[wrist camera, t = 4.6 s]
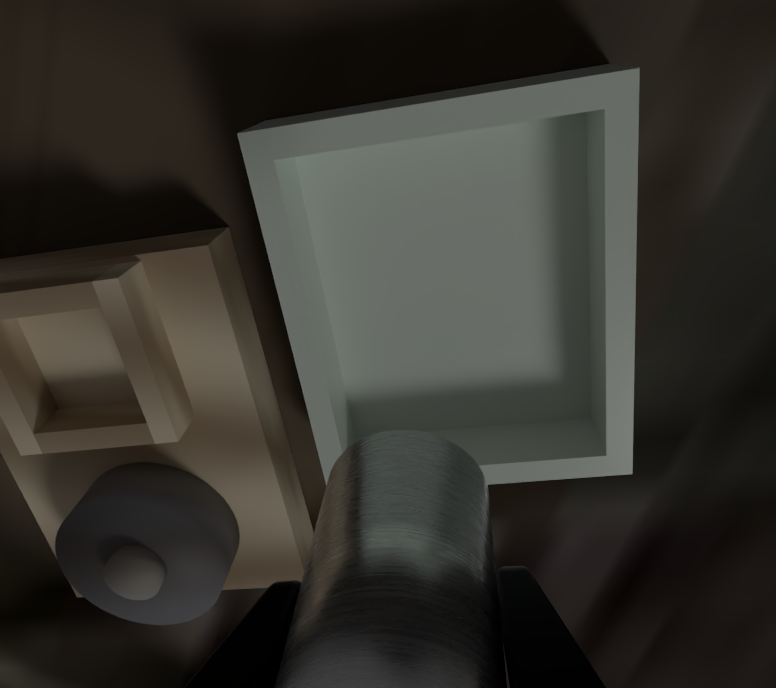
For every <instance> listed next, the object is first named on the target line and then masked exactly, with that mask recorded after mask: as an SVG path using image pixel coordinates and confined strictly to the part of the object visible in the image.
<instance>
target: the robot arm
mask: <svg viewBox="0 0 776 688" xmlns="http://www.w3.org/2000/svg"><path fill="white" fill-rule="evenodd" d="M497 577H498V589H499V600H500V612H501V623H502V635H503V642H504V650H505V657H506V664H507V671H508V678H509V685H510V688H606V687H605V686H604V684H603V683H602V681H601V680H600V678H599V676H598V675H597V673H596V672H595V670H594V669H593V667H592V666H591V664H590V663H589V661H588V660H587V658H586V657H585V655H584V653H583V652H582V650H581V649H580V647H579V646H578V644H577V643H576V641H575V640H574V638H573V637H572V635H571V633H570V632H569V630H568V629H567V627H566V626H565V624H564V623H563V621H562V620H561V618H560V617H559V615H558V613H557V612H556V610H555V609H554V607H553V606H552V604H551V603H550V601H549V600H548V598H547V597H546V595H545V594H544V592H543V590H542V589H541V587H540V586H539V584H538V583H537V581H536V580H535V578H534V577H533V575H532V574H531V572H530V571H529V569H528V568H527V567H525V566H509V567H500V568H499V569H498V571H497ZM300 586H301V582H300V581H297V580H292V581H278V582H275V583H273V584H272V585H270V586H269V588H268V589H267V590H266V591H265V592H264V593H263V595H262V596H261V597H260V598H259V599H258V600H257V602H256V603H255V604H254V605H253V606H252V608H251V609H250V610H249V611H248V612H247V613H246V615H245V616H244V617H243V618H242V619H241V621H240V622H239V623H238V624H237V625H236V626H235V628H234V629H233V630H232V631H231V632H230V633H229V635H228V636H227V637H226V638H225V639H224V641H223V642H222V643H221V644H220V645H219V646H218V648H217V649H216V650H215V651H214V652H213V653H212V655H211V656H210V657H209V658H208V659H207V661H206V662H205V663H204V664H203V665H202V666H201V668H200V669H199V670H198V671H197V672H196V674H195V675H194V676H193V677H192V678H191V679H190V681H189V682H188V683H187V684H186V685H185V686H184V688H274V686H275V682H276V678H277V674H278V671H279V667H280V663H281V659H282V655H283V651H284V647H285V644H286V640H287V636H288V632H289V628H290V624H291V621H292V617H293V613H294V609H295V605H296V601H297V598H298V594H299V590H300Z"/></svg>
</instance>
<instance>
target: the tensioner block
mask: <svg viewBox="0 0 776 688" xmlns="http://www.w3.org/2000/svg"><path fill="white" fill-rule="evenodd" d="M0 452H1V454H2V456H3V458H4V460H5V462H6V463H7V465H8V467H9V469H10V471H11V473H12V475H13V477H14V479H15V481H16V482H17V484H18V486H19V488H20V490H21V492H22V494H23V496H24V498H25V499H26V501H27V503H28V505H29V507H30V509H31V511H32V513H33V515H34V517H35V518H36V520H37V522H38V524H39V526H40V528H41V530H42V532H43V534H44V535H45V537H46V539H47V541H48V543H49V545H50V547H51V549H52V551H53V553H54V554H55V556H56V558H57V561H58V564H59V566H60V568H61V570H62V572H63V574H64V575H65V577H66V579H67V580H68V581H69V583H70V585H71V587H72V589H73V590H74V592H75V594H76V596H77V597H84V598H86V599H87V600H88V601H90V602H91V603H93V604H94V605H95V606H97V607H99V608H101V609H102V610H104V611H106V612H108V613H110V614H112V615H115V616H117V617H120V618H123V619H126V620H129V621H133V622H137V623H142V624H150V625H172V624H179V623H184V622H187V621H190V620H193V619H195V618H197V617H199V616H201V615H202V614H204V613H205V612H207V611H208V610H209V609H210V608H211V607H212V606H213V605H214V604H215V602H216V601H217V599H218V597H219V595H220V593H221V591H222V590H229V589H249V588H268V587H269V586H270V585H272V584H273V583H275V582H278V581H292V580H297V581H300V582H302V578H303V574H304V571H305V567H306V563H307V559H308V555H309V551H310V548H311V544H312V540H313V536H314V533H313V529H312V525H311V522H310V518H309V514H308V511H307V507H306V504H305V500H304V496H303V493H302V489H301V486H300V482H299V478H298V475H297V471H296V468H295V464H294V460H293V457H292V453H291V449H290V446H289V442H288V439H287V435H286V431H285V428H284V424H283V421H282V417H281V413H280V410H279V406H278V403H277V399H276V395H275V392H274V388H273V384H272V381H271V377H270V374H269V370H268V366H267V363H266V359H265V356H264V352H263V348H262V345H261V341H260V338H259V334H258V330H257V327H256V323H255V319H254V316H253V312H252V309H251V305H250V301H249V298H248V294H247V291H246V287H245V283H244V280H243V276H242V273H241V269H240V265H239V262H238V258H237V254H236V251H235V247H234V244H233V240H232V236H231V233H230V229H229V227H223V228H216V229H209V230H202V231H195V232H188V233H180V234H173V235H166V236H159V237H152V238H145V239H138V240H131V241H123V242H116V243H109V244H102V245H95V246H88V247H81V248H74V249H66V250H59V251H52V252H45V253H38V254H31V255H24V256H17V257H10V258H2V259H0Z"/></svg>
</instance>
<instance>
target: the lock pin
mask: <svg viewBox="0 0 776 688" xmlns="http://www.w3.org/2000/svg"><path fill="white" fill-rule="evenodd" d="M274 688H507V682H506V672H505V661H504V651H503V640H502V630H501V619H500V609H499V598H498V588H497V577H496V567H495V556H494V546H493V535H492V525H491V514H490V504H489V493H488V487H487V482H486V479H485V477H484V474H483V472H482V470H481V469H480V467H479V465H478V464H477V463H476V461H475V460H474V459H473V458H472V457H471V456H470V455H469V454H468V453H467V452H466V451H465V450H464V449H462V448H461V447H459V446H458V445H457V444H455V443H453V442H451V441H449V440H448V439H445V438H443V437H440V436H438V435H435V434H431V433H428V432H423V431H417V430H390V431H384V432H380V433H376V434H372V435H370V436H367V437H365V438H363V439H361V440H359V441H357V442H356V443H354V444H353V445H351V446H350V447H349V448H347V449H346V450H345V451H344V452H343V453H342V454H341V455H340V456H339V458H338V459H337V461H336V462H335V463H334V465H333V467H332V469H331V472H330V475H329V478H328V482H327V486H326V490H325V494H324V498H323V501H322V505H321V509H320V513H319V517H318V521H317V525H316V528H315V532H314V536H313V540H312V544H311V548H310V551H309V555H308V559H307V563H306V567H305V571H304V574H303V578H302V582H301V586H300V590H299V594H298V598H297V601H296V605H295V609H294V613H293V617H292V621H291V624H290V628H289V632H288V636H287V640H286V644H285V647H284V651H283V655H282V659H281V663H280V667H279V671H278V674H277V678H276V682H275V686H274Z"/></svg>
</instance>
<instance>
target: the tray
mask: <svg viewBox="0 0 776 688" xmlns="http://www.w3.org/2000/svg"><path fill="white" fill-rule="evenodd" d="M638 125H639V68H637V67H630V66H623V65H616V64H605V65H599V66H593V67H587V68H581V69H575V70H569V71H563V72H557V73H551V74H545V75H539V76H533V77H526V78H520V79H514V80H508V81H502V82H496V83H490V84H484V85H478V86H472V87H466V88H460V89H454V90H448V91H442V92H435V93H429V94H423V95H417V96H411V97H405V98H399V99H393V100H387V101H381V102H375V103H369V104H363V105H357V106H351V107H344V108H338V109H332V110H326V111H320V112H314V113H308V114H302V115H296V116H290V117H284V118H278V119H272V120H266V121H263V122H261V123H259V124H257V125H254V126H252V127H250V128H248V129H246V130H243V131H241V132H239V133H237V135H238V139H239V143H240V147H241V151H242V155H243V159H244V163H245V167H246V171H247V175H248V179H249V183H250V186H251V190H252V194H253V198H254V202H255V206H256V210H257V214H258V218H259V222H260V226H261V230H262V234H263V238H264V242H265V246H266V249H267V253H268V257H269V261H270V265H271V269H272V273H273V277H274V281H275V285H276V289H277V293H278V297H279V301H280V305H281V309H282V313H283V316H284V320H285V324H286V328H287V332H288V336H289V340H290V344H291V348H292V352H293V356H294V360H295V364H296V368H297V372H298V376H299V379H300V383H301V387H302V391H303V395H304V399H305V403H306V407H307V411H308V415H309V419H310V423H311V427H312V431H313V435H314V439H315V442H316V446H317V450H318V454H319V458H320V462H321V466H322V470H323V474H324V478H325V482H326V486H327V482H328V478H329V475H330V472H331V469H332V467H333V465H334V463H335V462H336V461H337V459H338V458H339V456H340V455H341V454H342V453H343V452H344V451H345V450H346V449H347V448H349V447H350V446H351V445H353V444H354V443H356V442H357V441H359V440H361V439H363V438H365V437H367V436H370V435H372V434H376V433H380V432H384V431H390V430H417V431H423V432H428V433H431V434H435V435H438V436H440V437H443V438H445V439H448V440H449V441H451V442H453V443H455V444H457V445H458V446H459V447H461V448H462V449H464V450H465V451H466V452H467V453H468V454H469V455H470V456H471V457H472V458H473V459H474V460H475V461H476V463H477V464H478V465H479V467H480V469H481V470H482V472H483V474H484V477H485V479H486V482H487V485H488V484H502V483H515V482H529V481H543V480H557V479H570V478H584V477H598V476H611V475H625V474H632V467H633V410H634V353H635V296H636V239H637V182H638Z"/></svg>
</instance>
